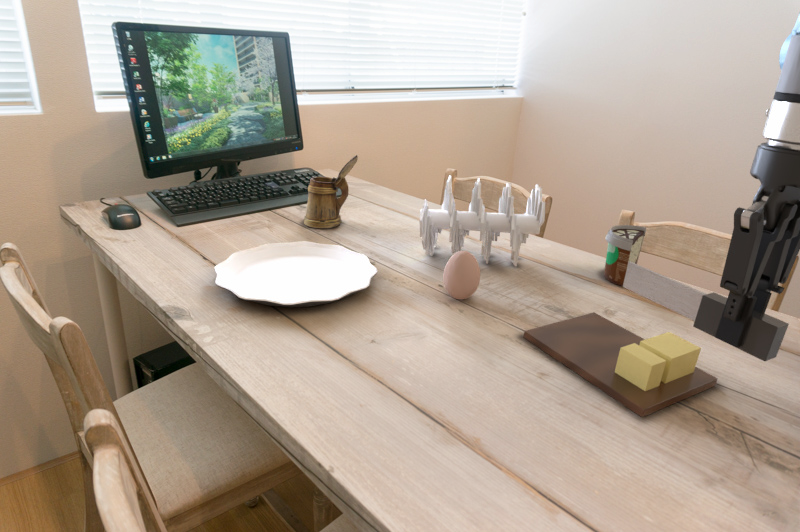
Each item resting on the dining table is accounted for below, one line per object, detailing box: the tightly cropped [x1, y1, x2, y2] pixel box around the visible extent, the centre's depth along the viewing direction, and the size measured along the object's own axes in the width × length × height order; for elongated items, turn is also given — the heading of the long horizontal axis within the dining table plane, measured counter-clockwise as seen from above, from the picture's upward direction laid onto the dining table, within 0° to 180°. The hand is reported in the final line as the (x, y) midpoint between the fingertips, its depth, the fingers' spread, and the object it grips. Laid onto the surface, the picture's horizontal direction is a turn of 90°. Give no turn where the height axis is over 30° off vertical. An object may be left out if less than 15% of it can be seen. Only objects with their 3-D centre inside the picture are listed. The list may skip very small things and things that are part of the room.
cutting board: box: [523, 311, 718, 418], centre depth 79 cm, size 22×16×1 cm
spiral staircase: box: [419, 175, 546, 267], centre depth 112 cm, size 18×18×25 cm
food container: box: [603, 224, 647, 287], centre depth 109 cm, size 12×6×10 cm, turn 144°
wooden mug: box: [303, 154, 359, 229], centre depth 129 cm, size 9×14×18 cm, turn 73°
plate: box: [213, 240, 378, 308], centre depth 100 cm, size 29×29×2 cm
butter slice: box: [615, 343, 666, 391], centre depth 72 cm, size 5×3×4 cm, turn 30°
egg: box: [442, 250, 481, 300], centre depth 95 cm, size 7×7×9 cm
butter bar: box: [639, 331, 702, 383], centre depth 75 cm, size 5×6×4 cm
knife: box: [622, 262, 790, 362], centre depth 69 cm, size 21×2×4 cm, turn 29°
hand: (734, 338), depth 65 cm, fingers closed on knife, 2 cm apart
